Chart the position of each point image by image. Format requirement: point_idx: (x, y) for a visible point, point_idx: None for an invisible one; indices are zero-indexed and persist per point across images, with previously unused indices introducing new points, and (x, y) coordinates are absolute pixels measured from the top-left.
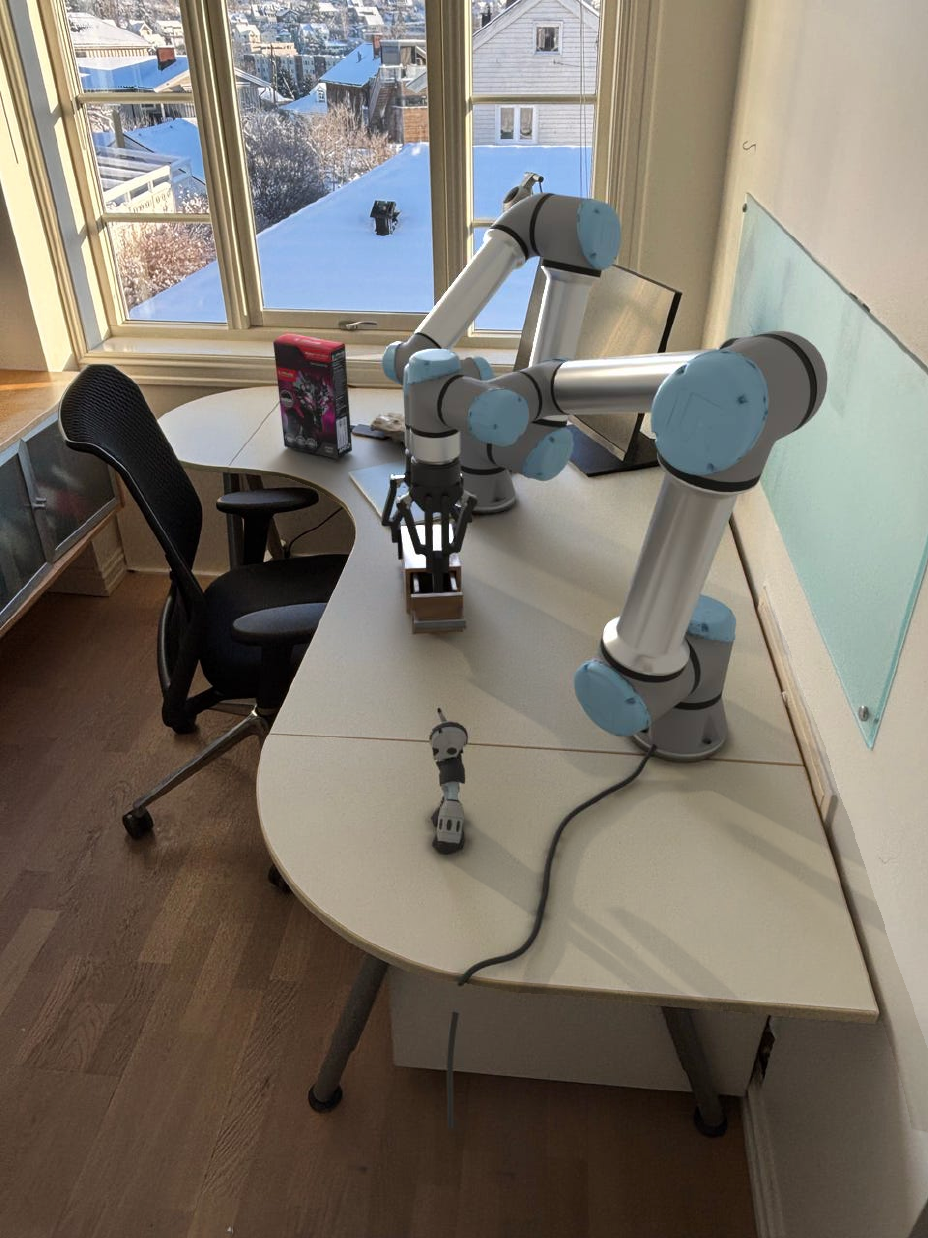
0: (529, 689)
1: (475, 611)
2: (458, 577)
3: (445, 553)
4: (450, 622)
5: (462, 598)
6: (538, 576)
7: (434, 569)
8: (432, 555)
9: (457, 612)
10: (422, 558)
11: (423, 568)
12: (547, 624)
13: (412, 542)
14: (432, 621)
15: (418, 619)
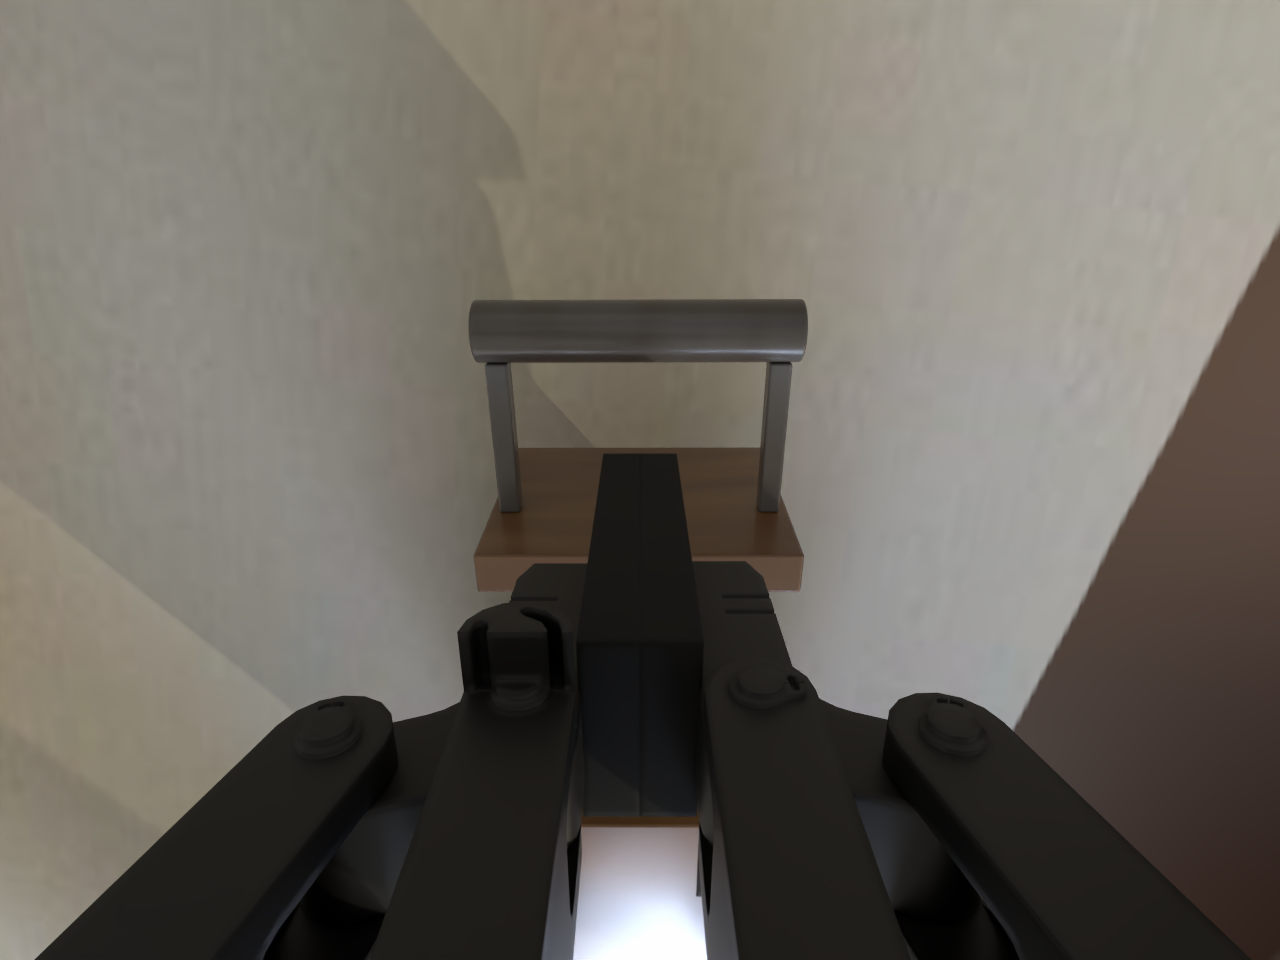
0: (214, 43)
1: None
2: None
3: (523, 689)
4: (570, 321)
5: (481, 543)
6: None
7: (681, 558)
8: (718, 678)
9: (527, 497)
10: (689, 904)
11: (695, 821)
12: (164, 544)
13: (1158, 890)
14: (686, 337)
15: (742, 483)
